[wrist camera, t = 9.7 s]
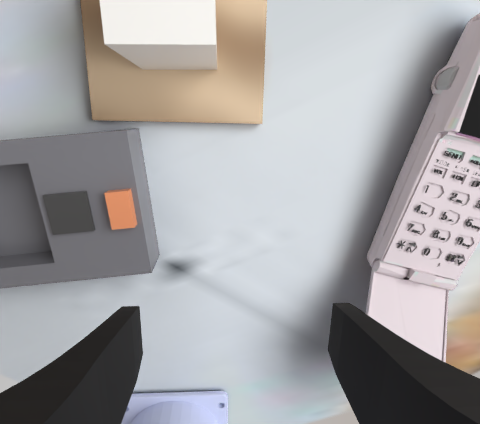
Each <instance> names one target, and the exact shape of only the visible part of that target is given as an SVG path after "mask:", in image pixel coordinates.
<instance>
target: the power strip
mask: <svg viewBox="0 0 480 424" xmlns="http://www.w3.org/2000/svg"><path fill="white" fill-rule="evenodd" d="M159 255H160V254H159V248H158V242H157V236H156V230H155V224H154V218H153V212H152V206H151V200H150V194H149V187H148V181H147V175H146V169H145V163H144V157H143V151H142V145H141V139H140V133H139V129H129V130H118V131H106V132H94V133H83V134H71V135H59V136H48V137H36V138H25V139H13V140H1V141H0V288H9V287H18V286H28V285H38V284H48V283H57V282H67V281H77V280H87V279H96V278H106V277H116V276H125V275H135V274H145V273H152V271H153V269H154V266H155V264H156V262H157V259H158V257H159Z"/></svg>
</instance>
